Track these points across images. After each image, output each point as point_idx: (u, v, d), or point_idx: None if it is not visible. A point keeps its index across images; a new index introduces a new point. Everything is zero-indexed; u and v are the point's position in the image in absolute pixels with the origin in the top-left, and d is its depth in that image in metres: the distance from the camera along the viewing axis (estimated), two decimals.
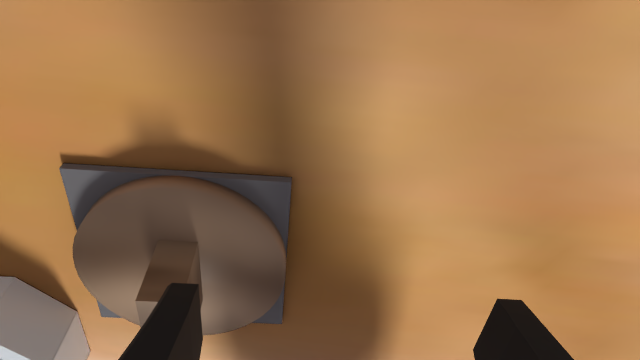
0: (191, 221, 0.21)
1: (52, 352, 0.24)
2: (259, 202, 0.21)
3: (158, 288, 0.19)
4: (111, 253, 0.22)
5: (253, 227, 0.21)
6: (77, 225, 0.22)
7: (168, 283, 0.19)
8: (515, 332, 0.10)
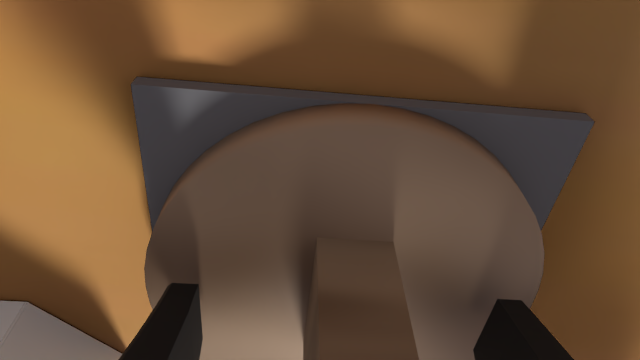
0: (394, 199, 0.10)
1: None
2: (514, 163, 0.11)
3: (358, 344, 0.08)
4: (219, 262, 0.11)
5: (512, 212, 0.10)
6: (152, 208, 0.11)
7: (375, 331, 0.09)
8: (515, 332, 0.10)
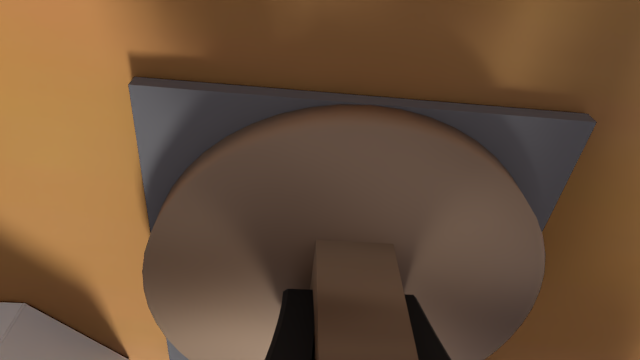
0: (394, 201, 0.10)
1: None
2: (515, 164, 0.11)
3: (357, 347, 0.08)
4: (217, 264, 0.11)
5: (513, 214, 0.10)
6: (150, 209, 0.11)
7: (374, 335, 0.09)
8: None
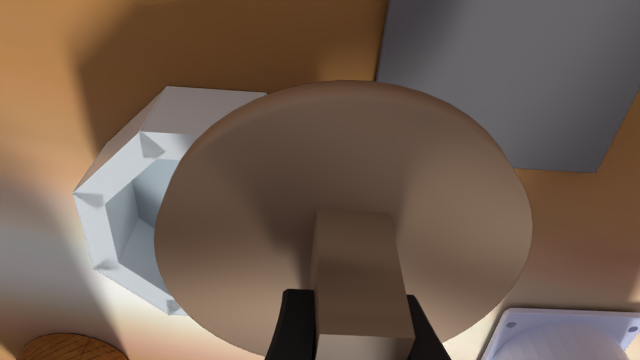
0: (390, 172, 0.11)
1: None
2: None
3: (355, 304, 0.09)
4: (224, 232, 0.12)
5: (502, 185, 0.11)
6: None
7: (371, 294, 0.09)
8: None
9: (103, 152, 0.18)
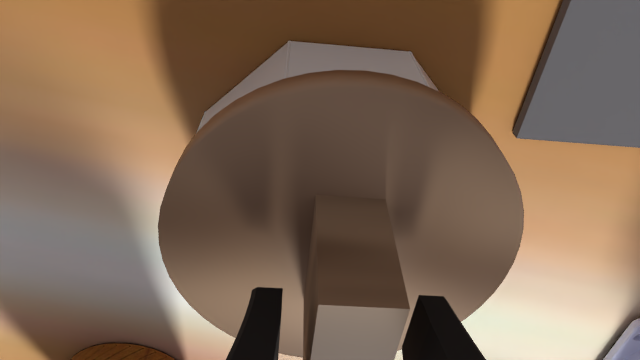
0: (385, 158, 0.11)
1: None
2: None
3: (352, 279, 0.10)
4: (226, 219, 0.12)
5: (493, 171, 0.11)
6: None
7: (367, 270, 0.10)
8: (429, 328, 0.10)
9: None
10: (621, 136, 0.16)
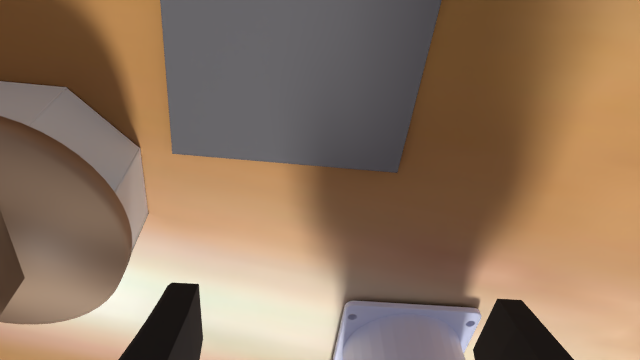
0: None
1: (115, 181, 0.18)
2: None
3: None
4: None
5: (64, 180, 0.16)
6: None
7: None
8: (515, 332, 0.10)
9: None
10: (255, 153, 0.20)
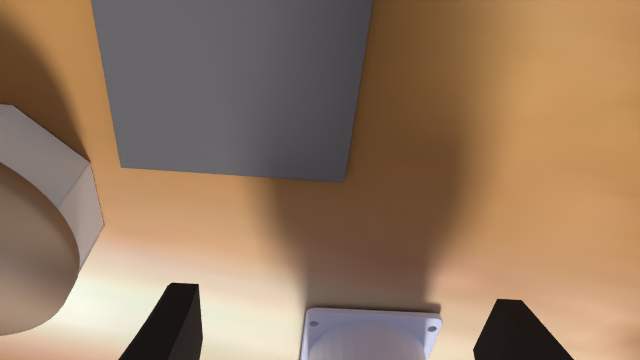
0: None
1: (60, 196, 0.19)
2: None
3: None
4: None
5: (1, 198, 0.16)
6: (95, 12, 0.17)
7: None
8: (515, 332, 0.10)
9: None
10: (202, 166, 0.21)
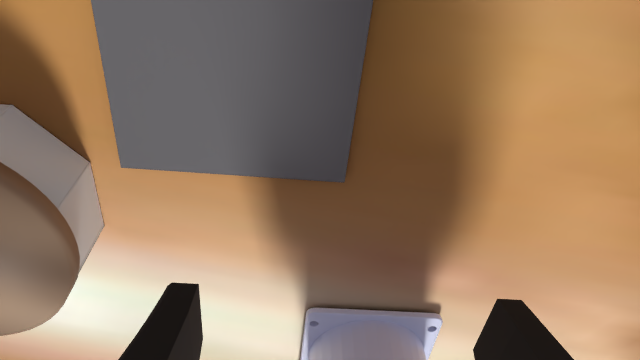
0: None
1: (60, 196, 0.19)
2: None
3: None
4: None
5: (1, 198, 0.16)
6: (95, 12, 0.17)
7: None
8: (515, 332, 0.10)
9: None
10: (202, 166, 0.21)
